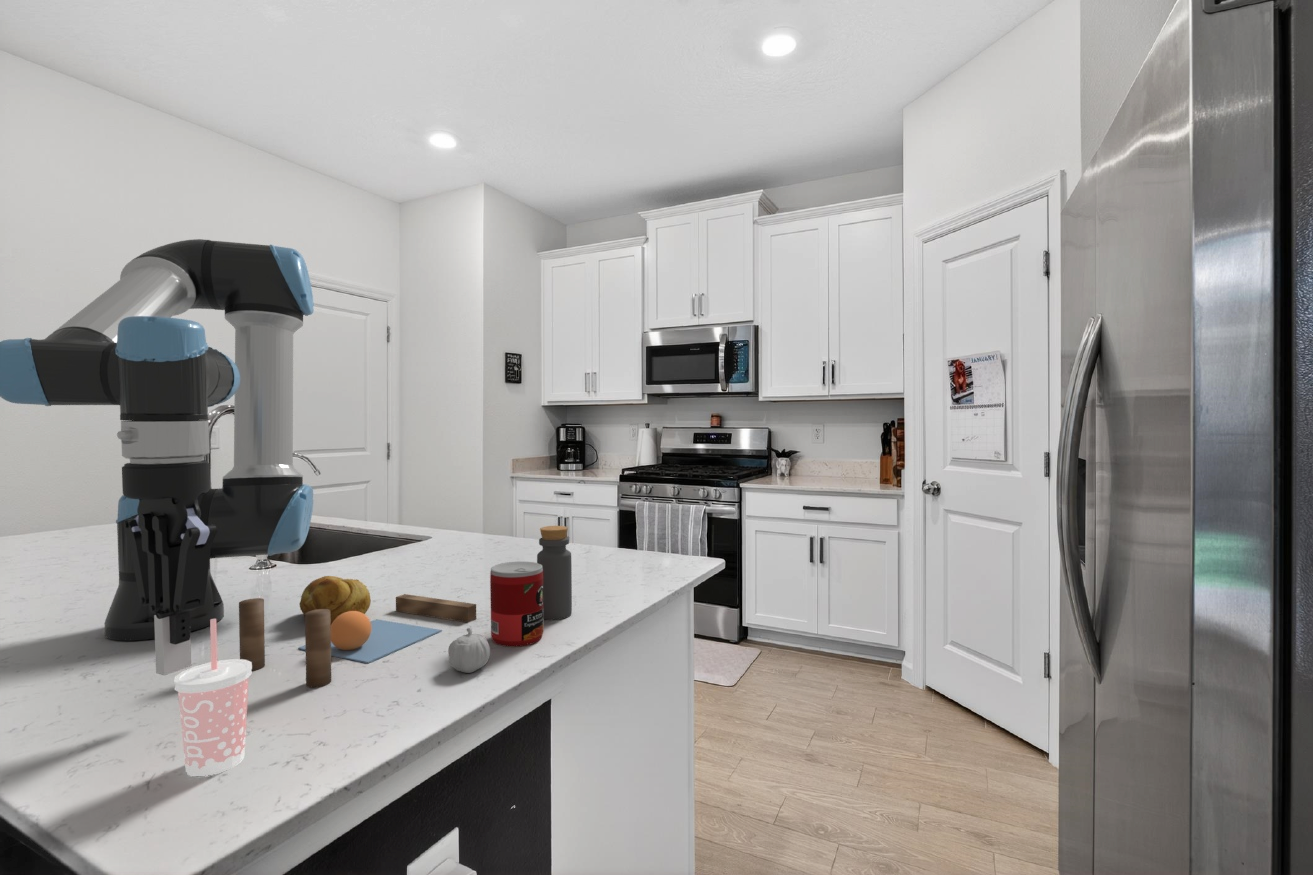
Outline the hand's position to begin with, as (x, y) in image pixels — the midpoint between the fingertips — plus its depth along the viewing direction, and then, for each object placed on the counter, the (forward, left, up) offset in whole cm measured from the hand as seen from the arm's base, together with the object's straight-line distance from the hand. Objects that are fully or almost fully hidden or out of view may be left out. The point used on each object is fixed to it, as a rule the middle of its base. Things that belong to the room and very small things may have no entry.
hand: (174, 669), depth 67 cm
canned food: (+21, +35, -6) cm, 41 cm away
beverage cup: (+14, -4, -6) cm, 16 cm away
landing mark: (+1, +26, -5) cm, 27 cm away
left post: (-6, +12, -5) cm, 15 cm away
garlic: (+22, +23, -6) cm, 32 cm away
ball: (+1, +22, -3) cm, 23 cm away
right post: (+7, +12, -5) cm, 15 cm away
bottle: (+20, +47, -6) cm, 52 cm away
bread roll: (-15, +32, -6) cm, 36 cm away
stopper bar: (+1, +39, -5) cm, 40 cm away
